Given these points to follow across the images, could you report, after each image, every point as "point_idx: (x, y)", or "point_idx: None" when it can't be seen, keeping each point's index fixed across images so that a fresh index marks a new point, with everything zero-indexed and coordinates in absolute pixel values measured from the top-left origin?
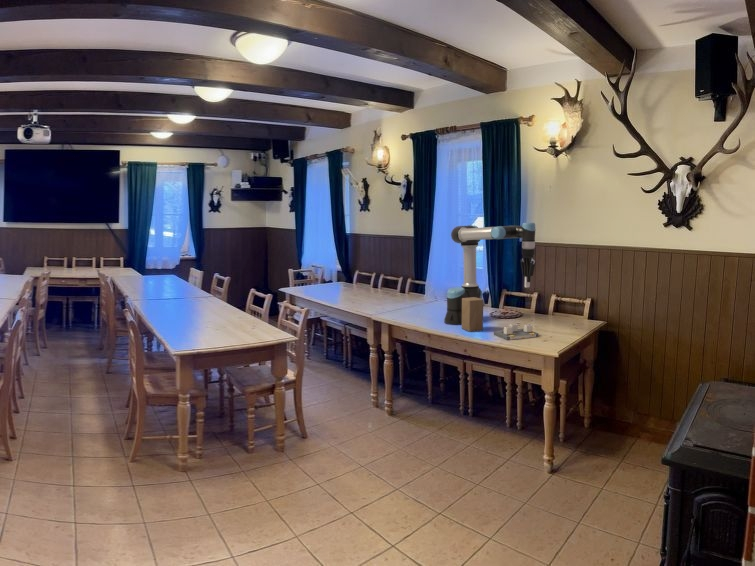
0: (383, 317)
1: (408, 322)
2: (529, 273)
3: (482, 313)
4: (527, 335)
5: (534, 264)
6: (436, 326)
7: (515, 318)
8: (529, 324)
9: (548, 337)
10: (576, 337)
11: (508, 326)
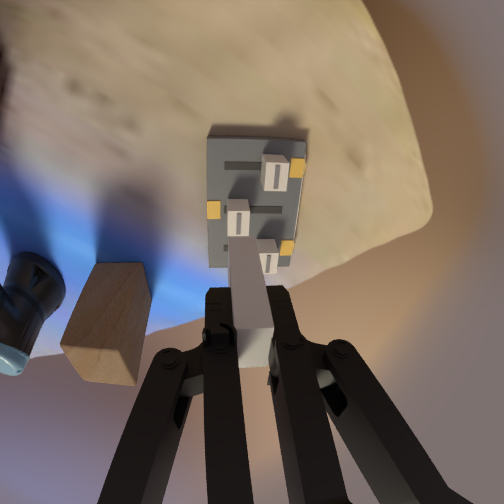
0: None
1: (44, 354)
2: (341, 402)
3: (131, 307)
4: (300, 191)
5: (442, 490)
6: None
7: (9, 65)
8: (277, 170)
9: (329, 114)
10: (375, 33)
11: (260, 258)
